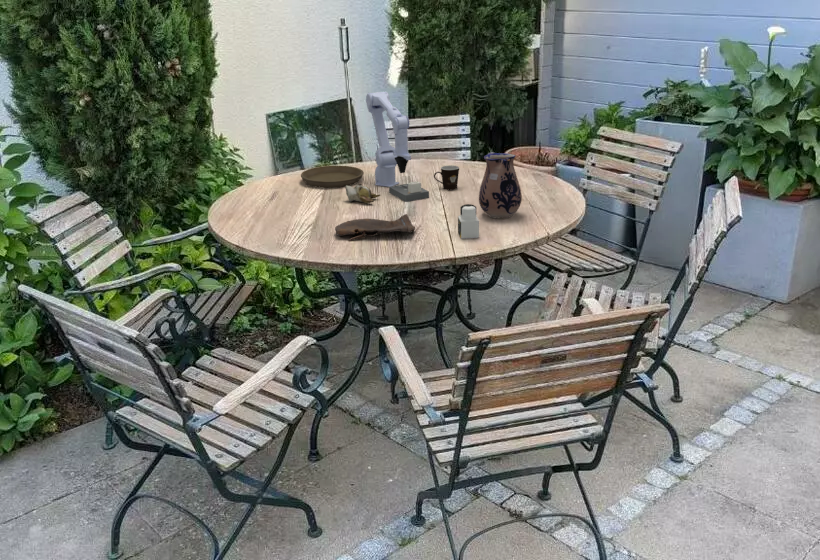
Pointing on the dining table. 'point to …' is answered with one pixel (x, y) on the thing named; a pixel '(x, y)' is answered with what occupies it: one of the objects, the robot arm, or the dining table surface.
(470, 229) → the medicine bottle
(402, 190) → the console
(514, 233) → the dining table surface
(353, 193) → the ceramic sculpture
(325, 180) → the plant saucer
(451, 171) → the coffee mug
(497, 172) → the ceramic pitcher
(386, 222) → the glove
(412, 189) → the fader
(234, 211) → the dining table surface
